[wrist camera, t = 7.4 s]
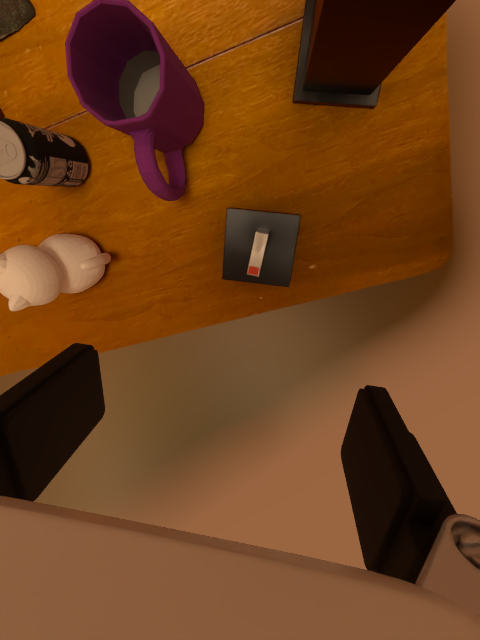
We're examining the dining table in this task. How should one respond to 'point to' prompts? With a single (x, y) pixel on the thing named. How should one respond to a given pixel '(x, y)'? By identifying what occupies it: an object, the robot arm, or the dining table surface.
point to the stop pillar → (357, 47)
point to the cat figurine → (50, 269)
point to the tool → (14, 15)
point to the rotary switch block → (276, 251)
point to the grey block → (257, 252)
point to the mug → (135, 87)
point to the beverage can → (40, 156)
